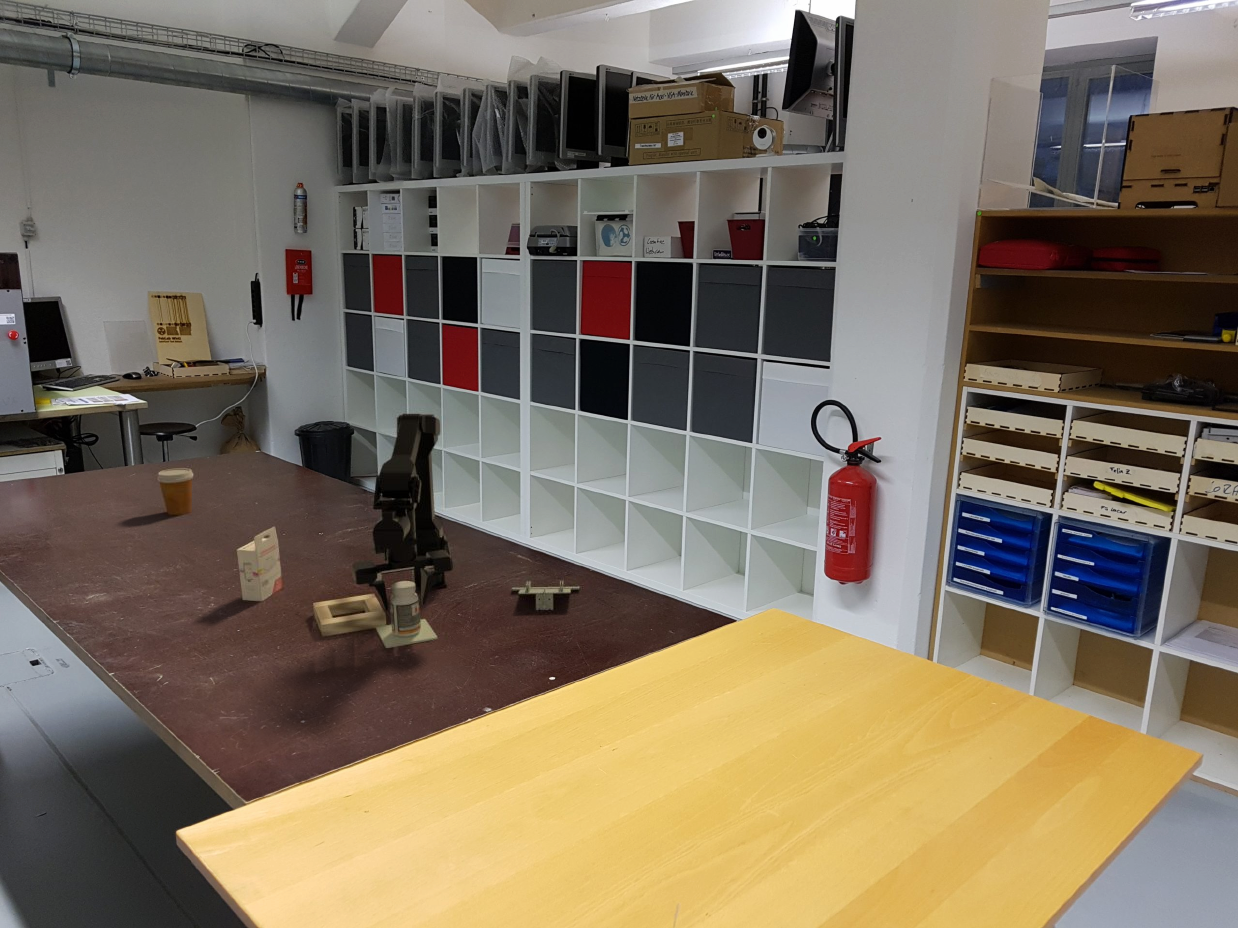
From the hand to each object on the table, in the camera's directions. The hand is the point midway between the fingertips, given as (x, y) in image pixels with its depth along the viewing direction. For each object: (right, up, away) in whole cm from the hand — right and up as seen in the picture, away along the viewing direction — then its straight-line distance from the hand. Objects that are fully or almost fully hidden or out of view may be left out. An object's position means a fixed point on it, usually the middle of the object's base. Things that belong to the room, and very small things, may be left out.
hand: (404, 607), depth 184 cm
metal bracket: (+26, -2, +20) cm, 33 cm away
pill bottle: (0, -5, +1) cm, 5 cm away
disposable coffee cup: (-84, +14, +84) cm, 120 cm away
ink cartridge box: (-37, -1, +22) cm, 43 cm away
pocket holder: (-13, -4, +8) cm, 16 cm away
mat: (0, -5, +1) cm, 6 cm away
